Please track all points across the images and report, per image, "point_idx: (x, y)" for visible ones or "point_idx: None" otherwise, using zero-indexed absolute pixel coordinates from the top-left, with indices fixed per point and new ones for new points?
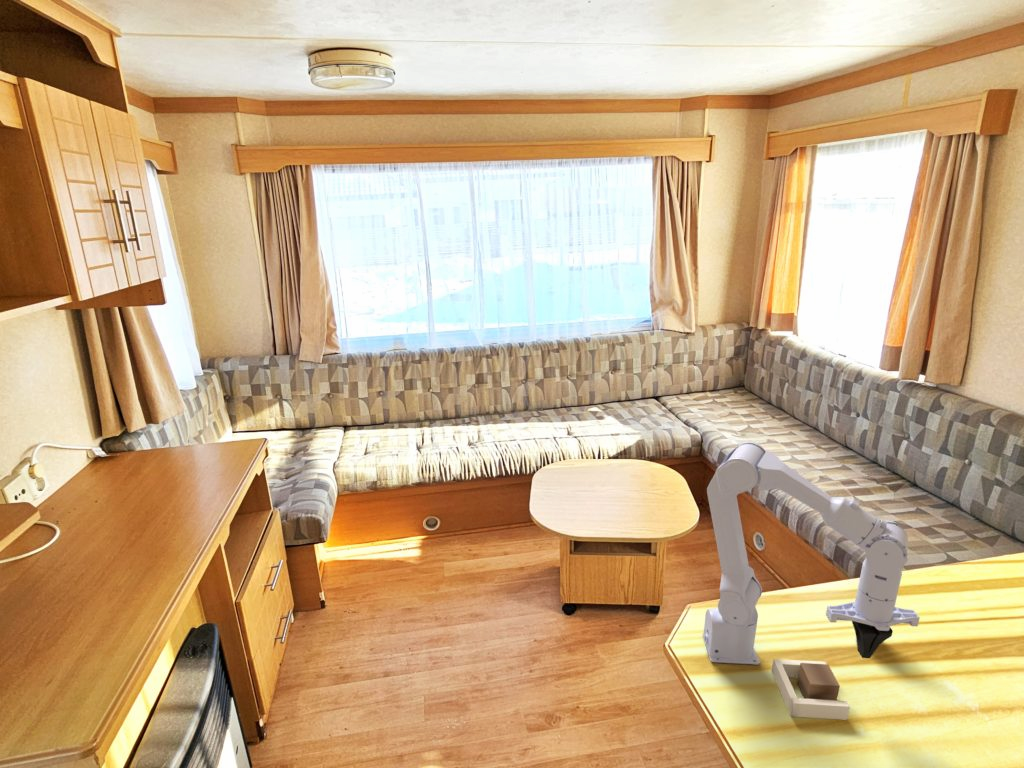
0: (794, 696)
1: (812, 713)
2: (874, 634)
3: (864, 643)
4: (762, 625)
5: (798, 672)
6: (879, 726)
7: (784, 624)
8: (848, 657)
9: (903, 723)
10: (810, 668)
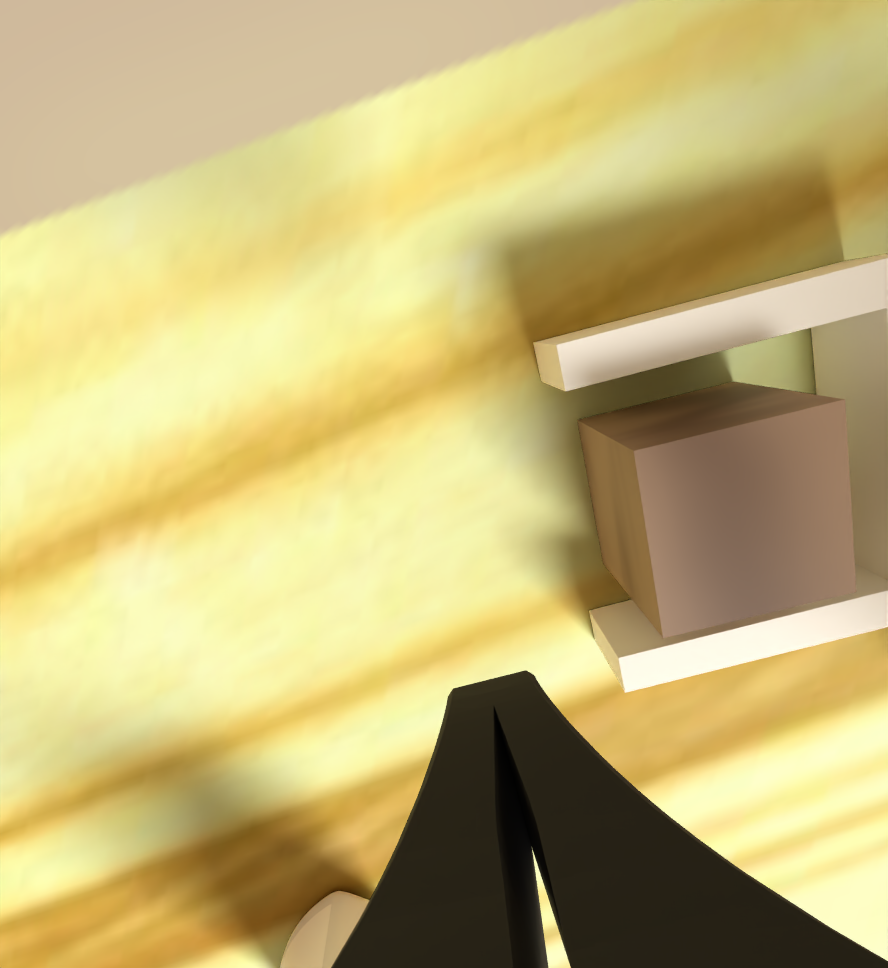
0: None
1: (745, 289)
2: None
3: (660, 818)
4: (829, 873)
5: None
6: (364, 354)
7: None
8: None
9: (232, 422)
10: (801, 558)
